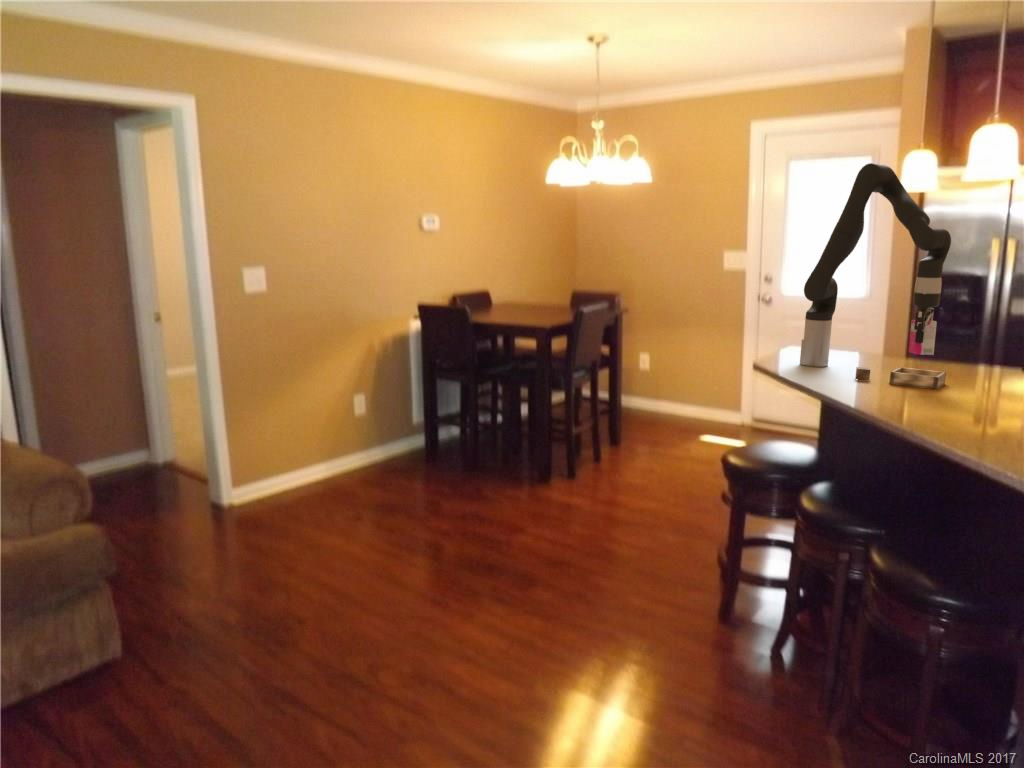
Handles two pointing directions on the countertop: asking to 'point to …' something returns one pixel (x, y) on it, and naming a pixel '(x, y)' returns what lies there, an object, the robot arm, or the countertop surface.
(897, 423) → the countertop surface
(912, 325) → the supplement box
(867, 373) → the walnut block
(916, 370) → the crate
